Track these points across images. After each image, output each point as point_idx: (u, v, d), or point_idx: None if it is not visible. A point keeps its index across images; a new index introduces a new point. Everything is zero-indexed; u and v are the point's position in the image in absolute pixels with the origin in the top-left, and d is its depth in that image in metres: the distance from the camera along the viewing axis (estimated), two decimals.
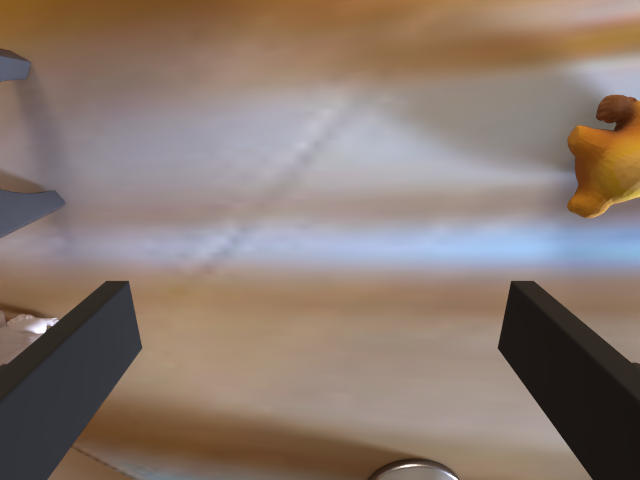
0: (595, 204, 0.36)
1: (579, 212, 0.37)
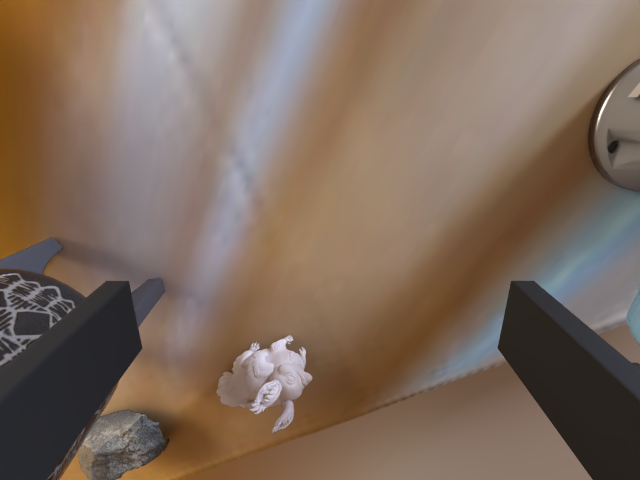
0: None
1: None
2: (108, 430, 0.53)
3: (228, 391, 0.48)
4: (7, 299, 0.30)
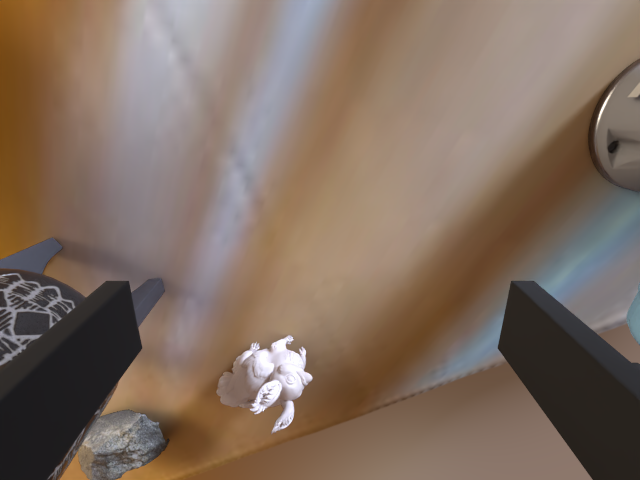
0: None
1: None
2: (108, 430, 0.53)
3: (228, 391, 0.48)
4: (7, 299, 0.30)
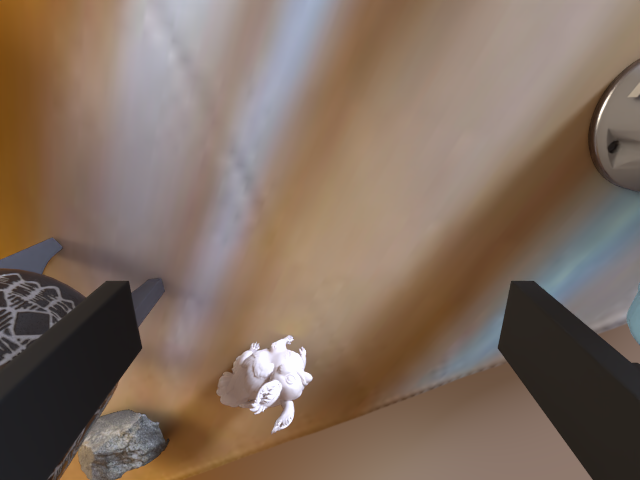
0: None
1: None
2: (108, 430, 0.53)
3: (228, 391, 0.48)
4: (7, 299, 0.30)
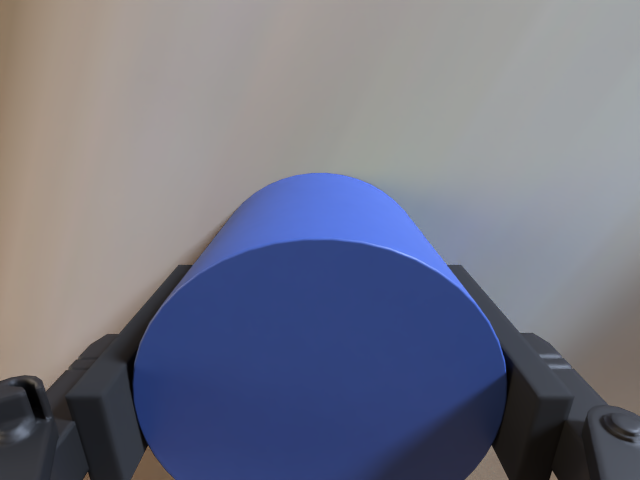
0: None
1: None
2: None
3: None
4: None
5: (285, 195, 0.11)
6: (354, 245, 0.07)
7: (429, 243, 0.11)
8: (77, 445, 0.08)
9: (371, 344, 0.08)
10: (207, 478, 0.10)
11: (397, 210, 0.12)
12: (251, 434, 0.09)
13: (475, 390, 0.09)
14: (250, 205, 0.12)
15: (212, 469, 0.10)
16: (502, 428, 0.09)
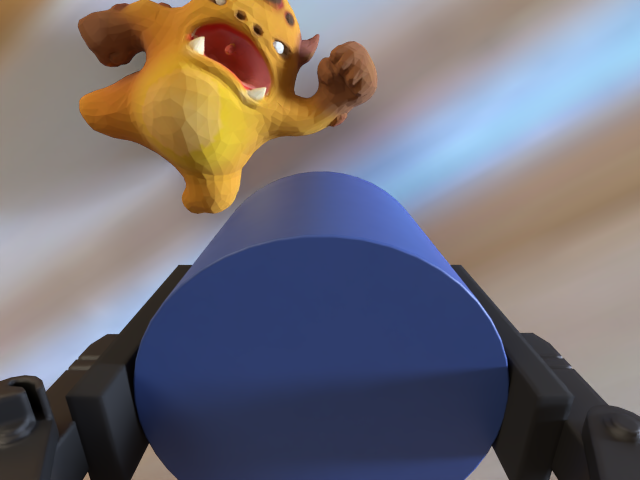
0: (197, 192, 0.21)
1: (200, 211, 0.22)
2: None
3: None
4: None
5: (286, 193, 0.11)
6: (357, 242, 0.07)
7: (430, 241, 0.11)
8: (77, 445, 0.08)
9: (373, 341, 0.08)
10: (208, 476, 0.10)
11: (398, 208, 0.12)
12: (253, 432, 0.09)
13: (477, 388, 0.09)
14: (251, 203, 0.12)
15: (213, 467, 0.10)
16: (501, 429, 0.09)
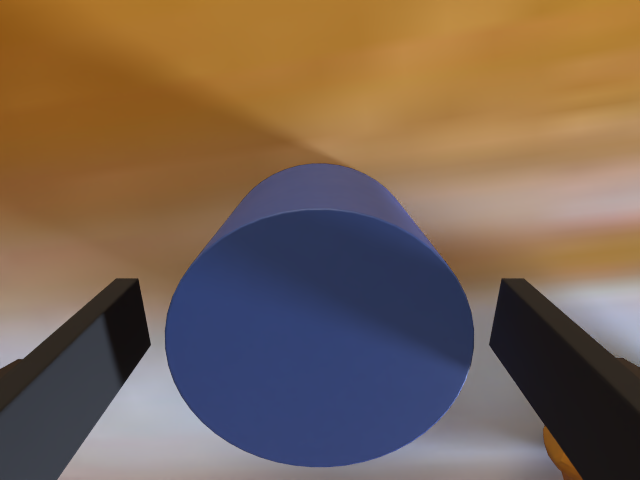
0: None
1: None
2: None
3: None
4: None
5: (290, 180, 0.13)
6: (347, 213, 0.09)
7: (413, 221, 0.13)
8: None
9: (361, 298, 0.10)
10: (225, 416, 0.12)
11: (386, 194, 0.14)
12: (263, 376, 0.11)
13: (447, 337, 0.11)
14: (259, 190, 0.14)
15: (229, 408, 0.11)
16: (606, 471, 0.08)
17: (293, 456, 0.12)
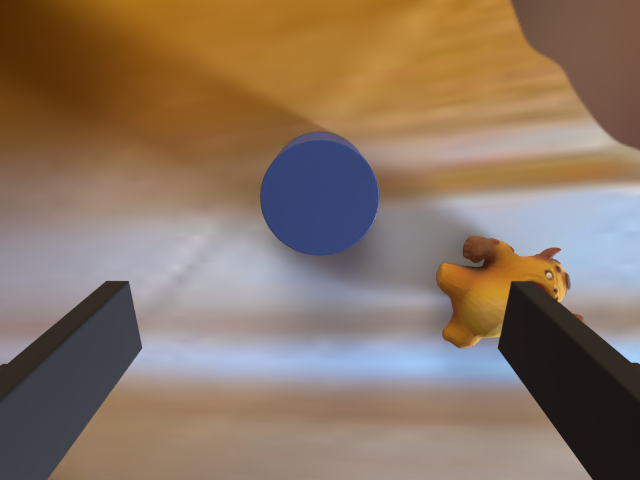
0: (464, 338, 0.36)
1: (451, 342, 0.37)
2: None
3: None
4: None
5: (307, 136, 0.30)
6: (329, 141, 0.26)
7: None
8: None
9: (335, 174, 0.27)
10: (281, 229, 0.29)
11: (350, 143, 0.31)
12: (297, 209, 0.28)
13: (368, 192, 0.28)
14: (292, 141, 0.31)
15: (283, 224, 0.28)
16: None
17: (308, 249, 0.29)
